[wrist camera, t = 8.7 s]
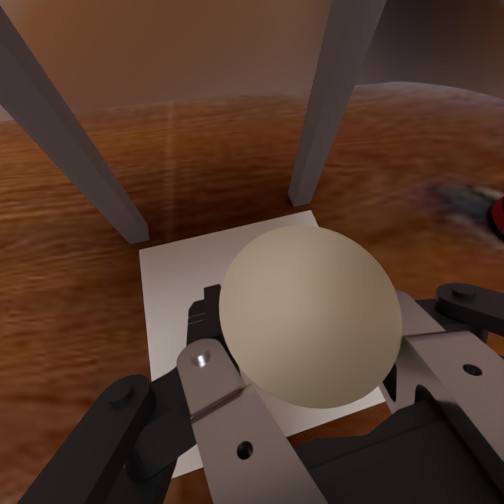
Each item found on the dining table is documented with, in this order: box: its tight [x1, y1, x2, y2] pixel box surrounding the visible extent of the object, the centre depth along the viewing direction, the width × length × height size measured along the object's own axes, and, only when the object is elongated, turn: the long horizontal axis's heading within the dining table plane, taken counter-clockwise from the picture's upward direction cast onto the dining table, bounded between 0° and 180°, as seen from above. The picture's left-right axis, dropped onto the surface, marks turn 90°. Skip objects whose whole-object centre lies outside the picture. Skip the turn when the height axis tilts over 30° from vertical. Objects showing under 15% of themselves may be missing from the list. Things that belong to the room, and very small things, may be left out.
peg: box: [219, 225, 402, 409], centre depth 10 cm, size 4×4×10 cm
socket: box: [139, 210, 385, 478], centre depth 21 cm, size 16×16×4 cm
